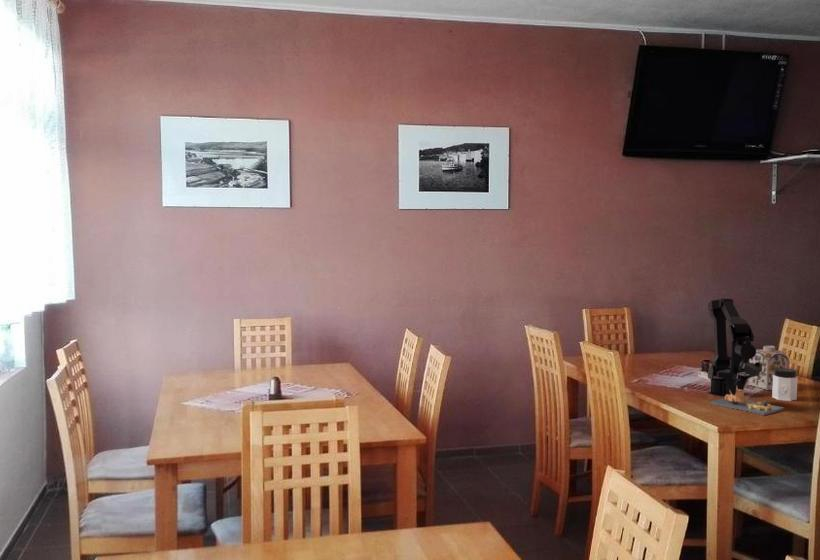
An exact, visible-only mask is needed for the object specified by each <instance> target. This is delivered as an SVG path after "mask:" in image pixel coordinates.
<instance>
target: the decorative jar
mask: <svg viewBox="0 0 820 560" xmlns="http://www.w3.org/2000/svg"><path fill="white" fill-rule="evenodd" d="M749 362H750V363H754V364H755V363H757V362H760V363H761V364H762V372H760V373H759V376H755V377H751V378H749V379H748V380H747V386H750V385H752V386H751V387H753V386H755V387H754V388H757V387H759V388H758V389H760V388H762V389H761V390H764V389H765V391H772V387H773V375H774V369H775V368H789V369H790V367H789V366H790V359H789V357H788V356H787V355H786V353H784V351H782V350H777V349H776V346H774V345H764V346H763V348H760V349H758V348H757V349H756V355H755V356H754V357H753V358H751V359H749Z"/></svg>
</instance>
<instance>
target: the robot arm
mask: <svg viewBox="0 0 820 560" xmlns="http://www.w3.org/2000/svg"><path fill="white" fill-rule="evenodd" d="M707 311H708V313H709V316H710V318H711V319H712V320H713V331H714V333H713V334H714V351H715V352H714V354H715V355H714V357H713V358H712V360H711V363H710V367H709V370H708V372H707V378H708V379H709V380H710V391H708V394H712V395H716V396H721V397H722V396H724V397H725V396H726V395H727V394H728V395H731V393H732V395H735V393H736V389H740V390H743V391H744V390H745V386H746V384H747V383H748V379H749V378H751V377H755V376H759V373H760V372H762V364H761V363H760V362H757V363H755V364H754V363H750V362H749V359H751V358H753V357H754V356H755V355H756V350H757V349H756V347H755V346H754V345H753V344H752V342H754V338H755V336H754V332H753V330H752V328H751V325H750V324H749V322H748V321H747V320H746V319H744V318H742V317H741V316H740V314H739V312H738V309H737V308H736V306H735V304H734V299H733V298H731V297H723V298H722V297H721V298H719V299H711V300H710V301H709V302H708V303H707ZM727 323H728V326H727ZM727 332H728V335H729V338H730V339H729V340H730V354H729V355H730V356H729V355H728V344H727V343H728V341H727V340H728V338H727Z"/></svg>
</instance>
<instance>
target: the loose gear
mask: <svg viewBox="0 0 820 560" xmlns="http://www.w3.org/2000/svg"><path fill="white" fill-rule="evenodd" d="M730 393H731V392H730ZM724 398H725V399H726V400H729V401H735V402H749V401H750V397H749V396H746V395H745V391H744V389H743V390H740V389H738V388H736V393H735V395H732V393H731V394H727V395H724Z"/></svg>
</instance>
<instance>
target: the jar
mask: <svg viewBox="0 0 820 560" xmlns="http://www.w3.org/2000/svg"><path fill="white" fill-rule="evenodd" d="M797 371H798V370H797V369H794V368H790V367H789V368H775V369H774V375H773V387H772V390H771V391H772V392H771V393H772V394H771V397H772V398H773V399H775V400H777V401H786V402H793V400H794V401H797V398H798V397H797V396H798V380H799V379H798V378H799V377H798V376H797V374H798V373H797Z"/></svg>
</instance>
